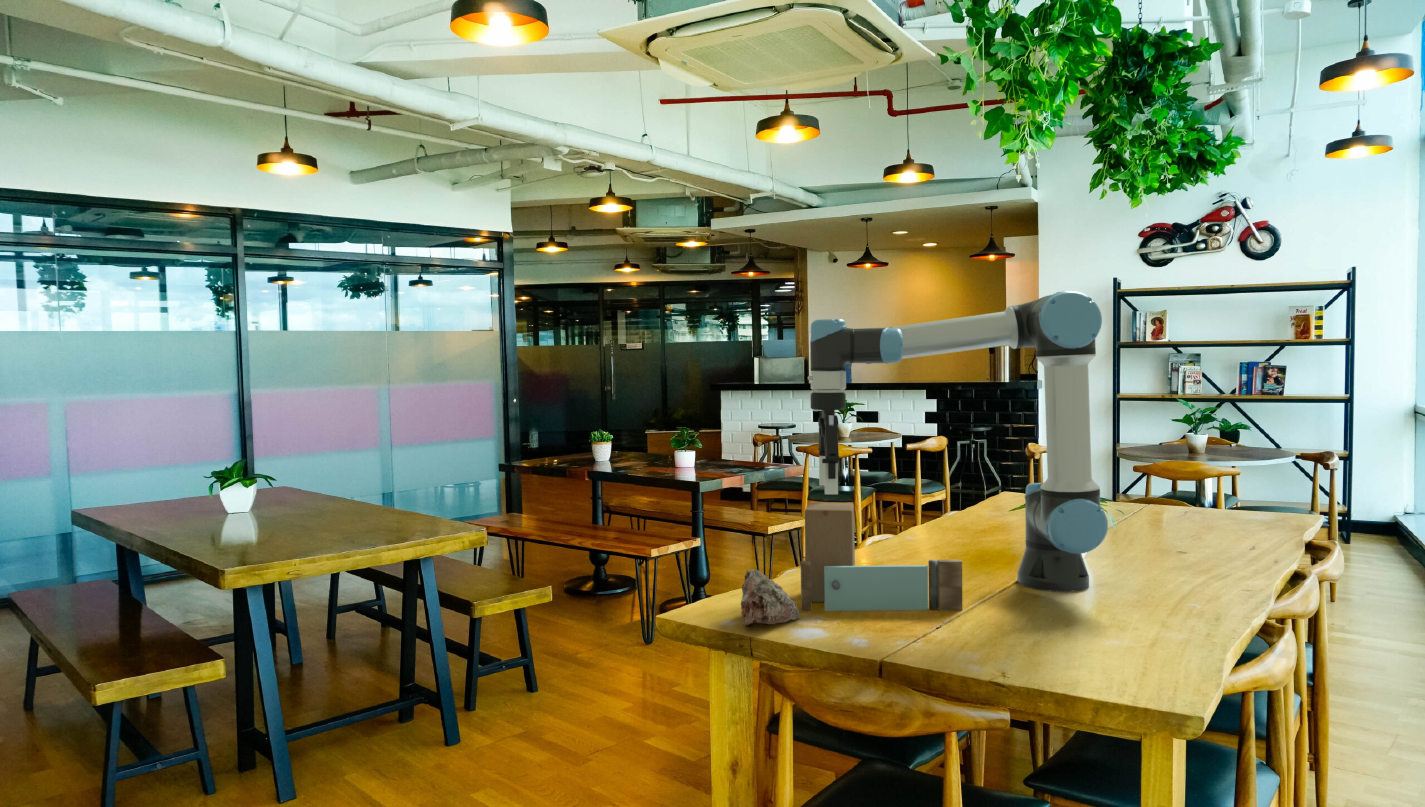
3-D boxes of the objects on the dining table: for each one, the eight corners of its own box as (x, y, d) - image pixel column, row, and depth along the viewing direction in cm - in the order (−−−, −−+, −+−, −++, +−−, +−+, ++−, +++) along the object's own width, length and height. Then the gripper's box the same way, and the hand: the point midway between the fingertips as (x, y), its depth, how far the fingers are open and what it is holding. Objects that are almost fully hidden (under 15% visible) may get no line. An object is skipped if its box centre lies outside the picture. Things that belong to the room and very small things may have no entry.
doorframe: (960, 607, 184) (960, 559, 184) (962, 610, 183) (962, 561, 182) (801, 609, 186) (800, 561, 185) (801, 611, 184) (801, 563, 183)
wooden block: (853, 604, 189) (852, 510, 188) (805, 602, 191) (804, 509, 190) (855, 592, 198) (854, 502, 197) (810, 590, 200) (808, 502, 199)
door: (926, 608, 184) (926, 565, 184) (929, 611, 182) (929, 568, 181) (824, 609, 185) (824, 566, 185) (825, 612, 183) (825, 569, 182)
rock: (771, 561, 189) (811, 562, 175) (779, 613, 188) (821, 618, 175) (707, 576, 181) (744, 578, 168) (716, 630, 180) (754, 637, 167)
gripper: (806, 389, 205) (806, 481, 206) (815, 393, 180) (815, 498, 181) (839, 389, 205) (839, 481, 206) (852, 393, 180) (852, 498, 181)
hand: (828, 489), depth 193 cm, fingers open, 13 cm apart
